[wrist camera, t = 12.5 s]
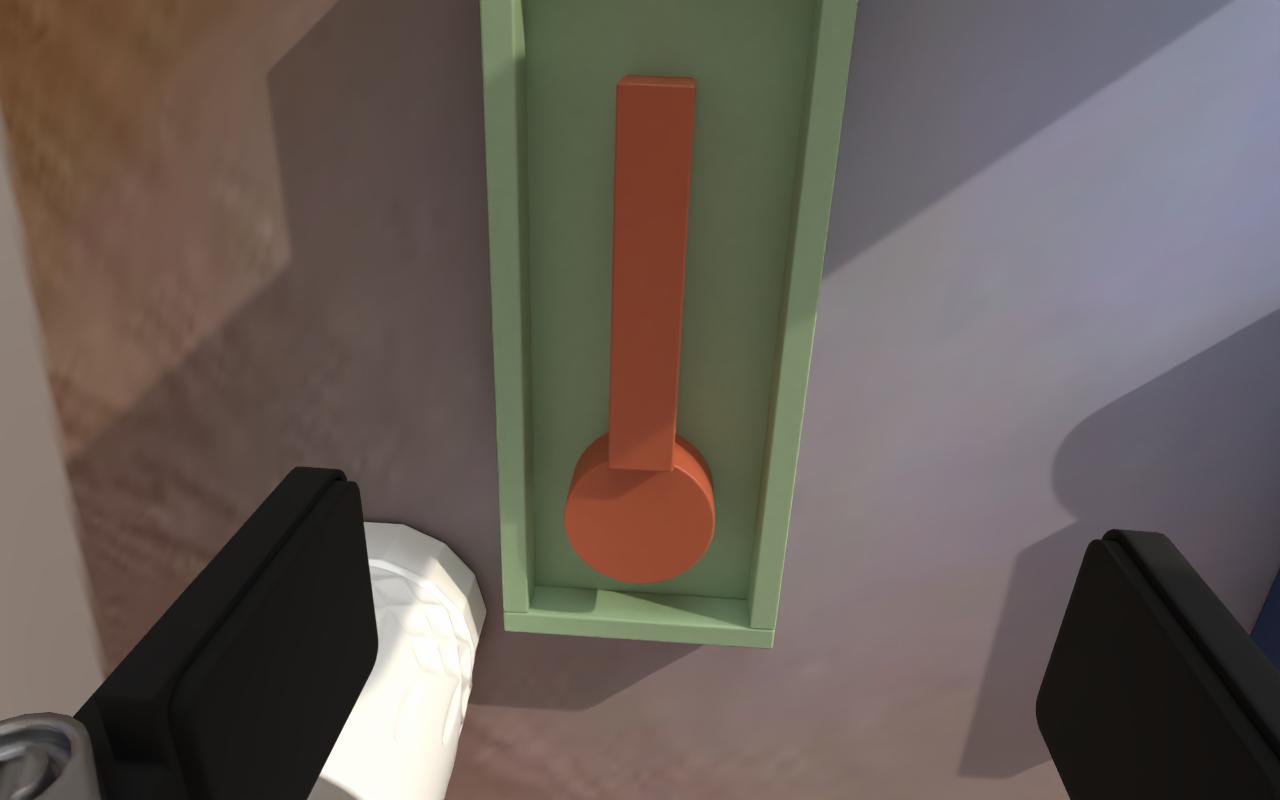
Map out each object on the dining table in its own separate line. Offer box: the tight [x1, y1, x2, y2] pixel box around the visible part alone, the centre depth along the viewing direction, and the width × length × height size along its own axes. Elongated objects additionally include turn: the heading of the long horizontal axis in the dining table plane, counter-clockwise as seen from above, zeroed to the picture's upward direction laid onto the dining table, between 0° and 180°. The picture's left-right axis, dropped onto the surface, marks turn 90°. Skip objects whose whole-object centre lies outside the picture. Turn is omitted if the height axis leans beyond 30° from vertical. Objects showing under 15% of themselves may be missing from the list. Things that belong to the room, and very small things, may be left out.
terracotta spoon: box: [564, 75, 715, 584], centre depth 23 cm, size 14×4×2 cm, turn 178°
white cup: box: [307, 522, 486, 800], centre depth 25 cm, size 8×8×10 cm
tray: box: [480, 0, 858, 649], centre depth 23 cm, size 22×9×2 cm, turn 178°
